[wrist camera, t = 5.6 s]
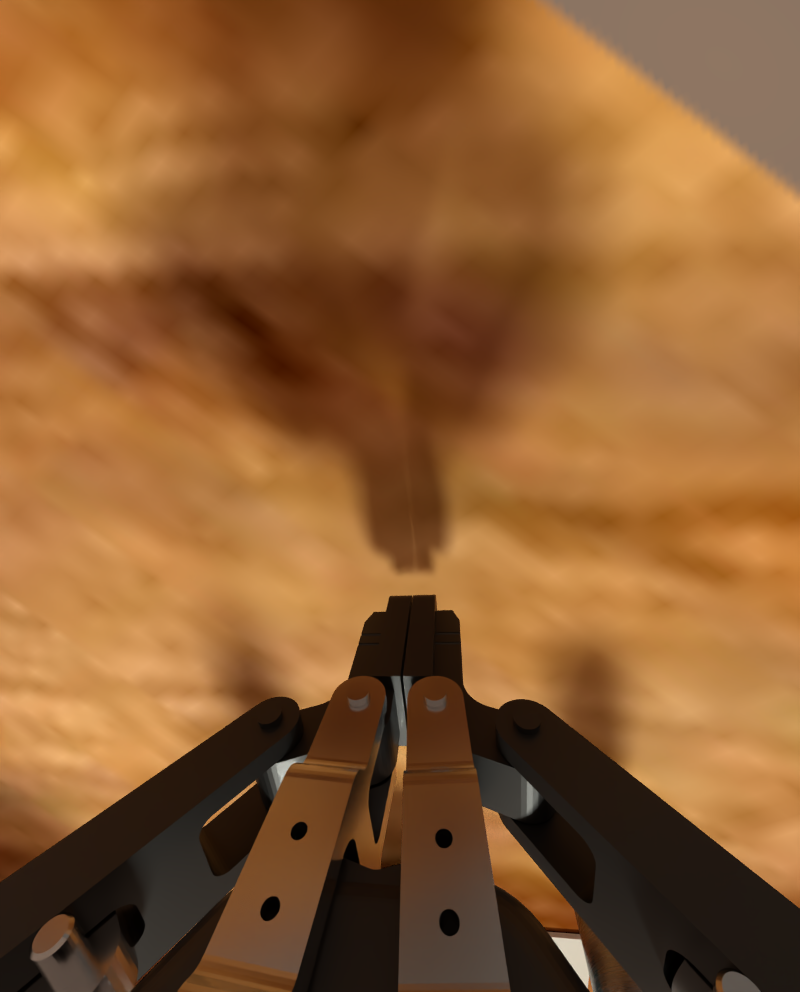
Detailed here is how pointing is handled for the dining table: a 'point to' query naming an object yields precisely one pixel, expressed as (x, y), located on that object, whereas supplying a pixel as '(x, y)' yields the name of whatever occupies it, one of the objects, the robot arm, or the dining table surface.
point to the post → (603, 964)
